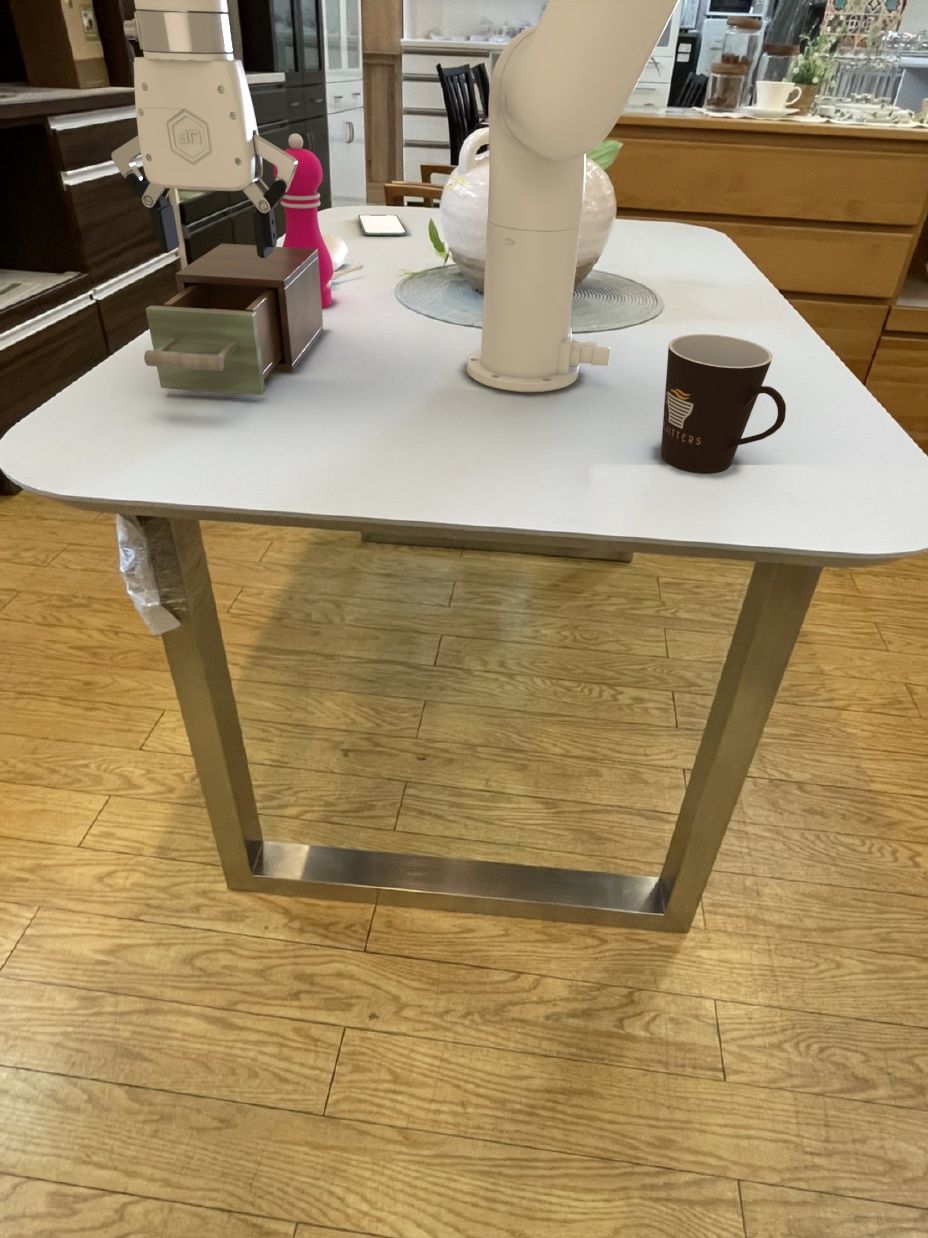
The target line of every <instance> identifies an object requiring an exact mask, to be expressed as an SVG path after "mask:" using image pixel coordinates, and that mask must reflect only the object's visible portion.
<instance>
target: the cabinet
mask: <svg viewBox="0 0 928 1238" xmlns="http://www.w3.org/2000/svg"><path fill="white" fill-rule="evenodd" d="M174 276H175V281H176V282H175V283H176V289H177V294H179V293H180V292H181V291H183V290H184V289H186V288H187V287H188V286H190V285H191V284H193V283H203V284H220V285H236V286H253V287H269V288H278V296H279V306H280V316H281V326H282V336H283V346H284V356H283V357H282V359H281V360H280V361H279V362H278V363H277V365H276V366H275V367H274V368H273V370H272V371H275V372H276V371H277V372H291V373H292V372H294V371H295V369H296V368H297V367H298V366H299V364H300V363H301V362H302V360H303V359H304V358H305V356H306V355H307V354H308V353H309V352H310V350H311V349H312V347H313V346H314V344H315V343H316V342H317V340H318V339H319V338H320V337H321V335H322V334H323V332H324V321H323V308H322V304H321V290H320V276H319V261H318V249H308V248H290V247H282V246H276V247H273V253H271V254H270V255H269V256H268V257H266V258H260V257H259V256H258V255H257V248H256V244H255V245H254V244H237V243H236V244H235V243H220V244H219V245H217V246H215V247H214V248H212V249H211V250H210V251H208V252H206V253H205V254H204V255H202V256H200V257H199V258H197V259H196V260H194V261H193V262H191V263H189V264H188V265H187V266H185V267H184V268H182V269H180V270H179V271H178V272H176V273H175V274H174Z"/></svg>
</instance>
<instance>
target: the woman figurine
mask: <svg viewBox="0 0 928 1238" xmlns="http://www.w3.org/2000/svg"><path fill="white" fill-rule="evenodd" d="M321 236H322V238H323V240H324V243H325V245H326V247H327V249H328V251H329V254H330V257H331V260H332V264H333V276H332V278H331V280H330V281H329V282H328V284H327V287H329V288H331V287H332V281H335V280H336V278H338V277H341V276H344V275H348V274H349V273H352V272H356V271H362V270H363V269H364V268H365V264H360V262H358V263H357V264H356V265H355V266H354V267H351V268H346V269H345V268H344V269H341V270H339V269H340V268H341V267H342V266H343V265H344V264H345V263H346V262H347V260H348V255H349V248H348V247H347V245H346V242H345V241H344V240H343V239H342V238H340V237H339V236H337V235H332V234H321ZM337 270H338V271H337Z"/></svg>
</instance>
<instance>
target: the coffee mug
mask: <svg viewBox="0 0 928 1238" xmlns="http://www.w3.org/2000/svg"><path fill="white" fill-rule="evenodd" d="M667 348H668V350H667V362H666V376H665V390H664V403H663V416H662V418H663V419H662V431H661V433H662V434H661V444H660V445H661V447H660V457H661V459H662V460H663V462H664V463H665V464H667V465H669V466H670V467H672V468H674V469H677V470H679V471H683V472H687V473H691V474H698V475H713V474H714V475H716V474H720V473H723V472H726V471H727V470H729V469H730V467H731V465H732V463H733V461H734V457H735V455H736V453H737V450H738V447H739V446H741V445H742V446H743V445H747V444H750V443H754V442H758V441H762V440H764V439H766V438H768V437H770V436H772V435H774V434H775V433H776V432H777V431H778V430H780V428H781V427H782V426H783V424H784V422H785V420H786V415H787V414H786V412H787V405H786V401H785V399H784V397H783V395H782V394H781V393H780V392H779V391H778V390H777V389H776V388H774V387H772V386H769V385H763V384H764V382H765V378H766V376H767V373H768V371H769V368H770V366H771V364H772V361H773V354H772V352H771V351H770V350H769V349H767V348H766V347H764V346H762V345H760V344H758V343H756V342H752V341H751V340H750V341H749V340H747V339H744V338H743V339H742V338H738V337H734V336H729V335H721V334H705V333H700V334H697V333H696V334H687V335H686V334H685V335H682V336H678V337H675V338H673V339H672V340H670V341H669V343H668V347H667ZM760 394H766V395H768V396H769V397H771V398H772V400H773V401H774V403H775V405H776V409H777V416H776V420H775V422H774V423H773V425H772V426H770V427H769V428H768V429H766V430H765V431H763V432H761V433H758V434H754V435H751V436H747V437H743V434H744V432H745V430H746V427H747V424H748V422H749V419H750V417H751V414H752V412H753V410H754V407H755V404H756V403H757V399H758V396H759V395H760Z"/></svg>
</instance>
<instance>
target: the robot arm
mask: <svg viewBox="0 0 928 1238" xmlns="http://www.w3.org/2000/svg"><path fill="white" fill-rule="evenodd" d="M133 1H134V7H135V11H133V15H134V18H132V19H131V20H124V21H123V24H122V25H123V32H124V35H125V37H126V39H127V40H134V41H136V42H138V43H139V49H140V50H142V53H143V56H135V57H134V58H133V59H134V60H133V63H134V64H133V76H134V77H133V82H134V103H135V116H136V125H137V135H136V136H134V137H133V138H132V139H130V140H129V141H127V142H125V143H124V144H122V145H121V146H119V147H117V148H116V149H114V150H113V151H112V152H111V154H110V157H111V159H112V161H113V163H114V165H115V166H116V168H117V169H118V171H119V172H120V174H121V176H122V177H124V179H125V180H124V181H125V184H126V185H127V186H128V187H129V189H131V191H133V193H134V194H136V195H137V196H138V197H139V198H140V199H141V201H142V202H141V203H142V204H143V205H144V207H146V208H148V209H149V214H150V219H151V225H152V231H153V236H154V240H155V241H156V242H158V244H159V250H160V252H161V253H162V254H169V253H170V252H172V251H174V250H176V249H178V248H179V247H180V239H179V234H178V228H177V222H176V217H175V211H174V210H175V209H174V206H173V205H172V203H171V202H168V196H169V194H170V193H171V190H172V189H174V190H175V189H176V190H196V191H217V192H238V191H242V192H243V193H244V194H245V196H246V197H247V198H248V199H249V201H250V202H251V203H252V204H253V205H254V206H255V210H256V211H254V213H252V221H253V231H254V238H255V245H256V248H257V255H258V256H259V257H260V258H266V257H268V256H269V255H270V254H271V253H273V247H277V244H278V235H277V226H276V219H275V217H276V216H275V208H277V206H278V204H279V203H280V202H281V201H282V200H281V199H282V198H283V196H284V195H285V194H286V193H287V192H288V190H289V188H290V184H291V181H292V179H293V176H294V174H295V171H296V168H297V165H298V162H297V160H296V159H295V158H294V157H293V156H291V155H289V154H288V153H286V152H285V151H284V150H283V149H282V148H280V147H278V146H277V145H275V144H273V143H272V142H271V141H270V142H269V141H268V140H267V139H265V138H263V137H262V136H260V135H259V130H258V125H257V119H256V114H255V108H254V104H253V101H252V96H251V91H250V88H249V84H248V80H247V76H246V73H245V69H244V66H243V63H242V60H241V59H238V58H237V59H236V58H235V57H234V49H233V41H232V40H233V39H232V34H231V33H232V31H231V24H230V17H229V16H230V15H229V6H228V0H133ZM679 2H680V0H548V2H547V4H546V6H545V8H544V11H543V13H542V15H541V17H540V20H539V21H538V24H537V25H535V26H532V27H529V28H526V29H524V30H523V31H521V32H519V33H518V34H516V35H515V36H514V37H513V38H511V40H510V41H509V42H508V43H507V44H506V45H505V47H504V48H503V49H502V51H501V53H500V55H499V56H498V58H497V60H496V63H495V65H494V67H493V70H492V76H491V79H490V84H489V90H488V91H489V93H488V153H489V154H488V155H489V156H488V157H489V159H488V160H489V165H488V166H489V169H488V173H489V174H488V197H487V198H488V199H487V200H488V201H487V202H488V203H487V219H486V235H485V236H486V238H485V259H484V280H483V299H482V300H483V301H482V302H483V303H482V320H481V321H482V323H481V343H480V344H481V346H480V349H478V350H476V351H474V352H473V353H471V354H470V355H469V356H468V357H467V358H466V373H467V374H468V375H469V376H470V377H471V378H472V379H473V380H474V381H476V382H479V383H480V384H482V385H485V386H486V387H487V386H488V387H490V388H494V389H498V390H504V391H509V392H510V391H511V392H519V393H541V392H542V393H543V392H550V391H555V390H556V391H557V390H559V389H563V388H566V387H568V386H570V385H571V384H573V383H575V382H576V380H578V377H579V370H580V369H579V368H580V367H579V364H589V365H591V366H603V367H608V365H609V359H610V347H606V346H598V342H596V341H577V338H573V337H572V336H573V335H572V327H571V326H570V325H571V319H572V318H571V316H572V308H573V307H572V306H573V297H574V289H575V282H576V281H575V280H576V271H577V262H578V253H579V246H580V245H579V244H580V237H581V226H582V221H583V213H584V212H583V211H584V203H585V202H584V201H585V190H586V163H587V162H586V161H587V159H586V158H587V157H586V155H587V154H589V153H591V152H592V151H594V150H596V149H597V147H599V145H600V144H601V143H603V142H604V140H605V139H606V138H607V137H608V136H609V134H610V133H611V132H612V131H613V128H614V127H615V125H616V124H617V122H618V121H619V119H620V117H621V116H622V114H623V112H624V110H625V108H626V106H627V105H628V103H629V101H630V99H631V97H632V95H633V93H634V91H635V89H636V87H637V85H638V83H639V81H640V80H641V77H642V76H643V74H644V72H645V70H646V68H647V65H649V62H650V60H651V58H652V56H653V54H654V52H655V50H656V48H657V46H658V44H659V42H660V41H661V38H662V36H663V34H664V32H665V31H666V28H667V26H668V24H669V22H670V20H671V18H672V16H673V14H674V12H675V10H676V8H677V5H678V4H679ZM139 156H141V157H140V158H141V162H142V167H143V171H144V174H143V173H142V172H141V171H140V170H139V168H138V166H137V164H136V158H137V157H139ZM263 159H264V160H265V161H266V162H268V163H270V164H272V165H273V166H274V165H275V166H276V167H277V170H278V173H277V177H276V179H275V180H274V182H273V183H272V184H271V185H270V187H268V185H267V184H266V183H265V182H264V181H263V179H262V177H263V173H264V172H263V171H264V168H263V167H264V166H263Z"/></svg>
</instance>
